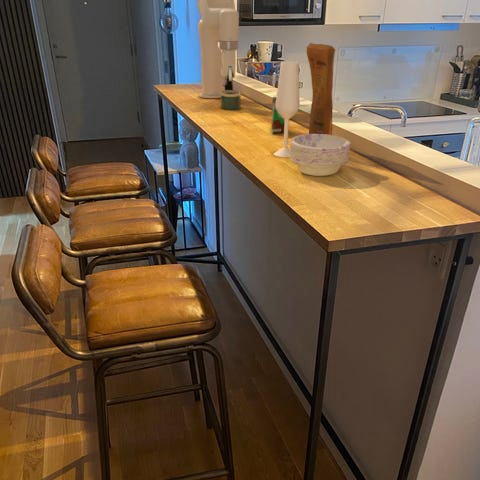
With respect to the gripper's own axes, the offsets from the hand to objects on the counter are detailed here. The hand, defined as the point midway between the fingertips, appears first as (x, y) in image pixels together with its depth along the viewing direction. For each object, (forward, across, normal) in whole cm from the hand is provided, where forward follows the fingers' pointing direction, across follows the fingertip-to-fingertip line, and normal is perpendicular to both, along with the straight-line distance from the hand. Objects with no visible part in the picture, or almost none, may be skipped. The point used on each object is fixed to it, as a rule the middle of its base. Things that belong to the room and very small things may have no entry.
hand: (228, 95), depth 210 cm
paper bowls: (+1, +99, +12) cm, 100 cm away
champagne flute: (+2, +81, +7) cm, 81 cm away
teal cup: (+4, +6, 0) cm, 7 cm away
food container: (+3, +51, +12) cm, 52 cm away
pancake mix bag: (+2, +76, +18) cm, 78 cm away
